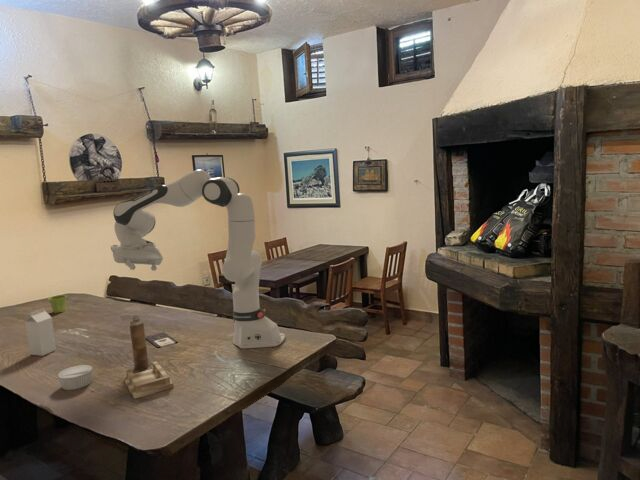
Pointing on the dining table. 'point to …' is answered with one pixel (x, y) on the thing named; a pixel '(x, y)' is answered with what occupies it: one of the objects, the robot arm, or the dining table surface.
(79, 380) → the ramekin
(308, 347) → the dining table surface
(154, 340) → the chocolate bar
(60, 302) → the plant pot
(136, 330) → the pepper mill
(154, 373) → the rack
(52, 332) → the milk carton
